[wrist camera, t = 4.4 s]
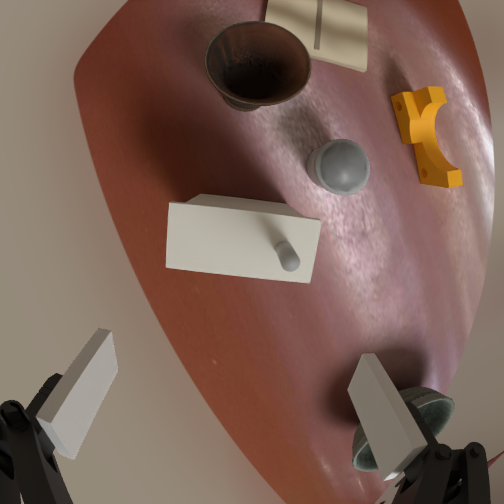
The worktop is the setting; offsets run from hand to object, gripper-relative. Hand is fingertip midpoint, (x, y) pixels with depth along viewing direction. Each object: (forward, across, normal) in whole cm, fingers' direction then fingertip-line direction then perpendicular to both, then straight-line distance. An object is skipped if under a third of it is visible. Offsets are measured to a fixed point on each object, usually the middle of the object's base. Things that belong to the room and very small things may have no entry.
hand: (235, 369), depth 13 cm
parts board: (+21, +6, +30) cm, 37 cm away
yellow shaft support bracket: (+22, +21, +17) cm, 35 cm away
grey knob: (+21, +9, +11) cm, 25 cm away
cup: (+21, 0, +19) cm, 29 cm away
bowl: (+21, +32, -28) cm, 47 cm away
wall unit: (+21, 0, +4) cm, 21 cm away
